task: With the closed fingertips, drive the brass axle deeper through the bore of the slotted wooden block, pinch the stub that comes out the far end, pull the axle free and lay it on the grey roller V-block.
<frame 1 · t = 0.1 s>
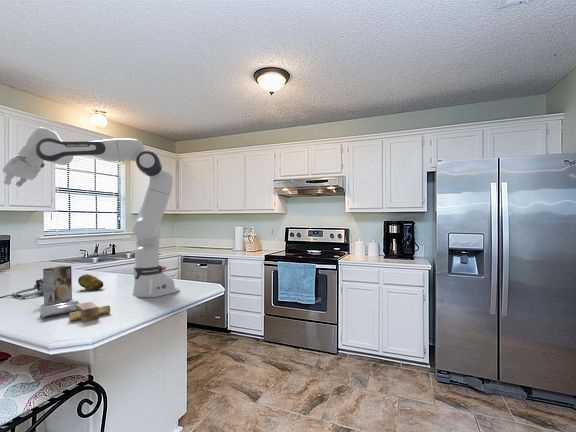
hand: (12, 185, 140), 54 cm above the table, fingers open, 8 cm apart
axle: (90, 316, 118), point 1 cm above the table, touching slotted wooden block
coffee box: (58, 301, 145), on the table
potato: (90, 289, 169), on the table
bike brake: (29, 296, 156), on the table, touching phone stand
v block: (61, 317, 121), on the table
slotted wooden block: (87, 321, 117), on the table
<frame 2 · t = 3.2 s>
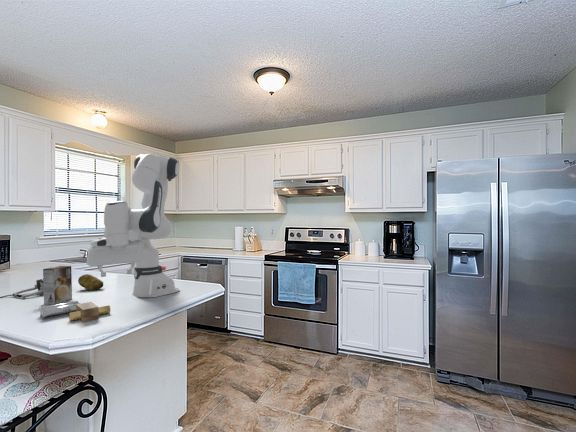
hand: (116, 275, 125), 16 cm above the table, fingers open, 8 cm apart
nothing on the table moved.
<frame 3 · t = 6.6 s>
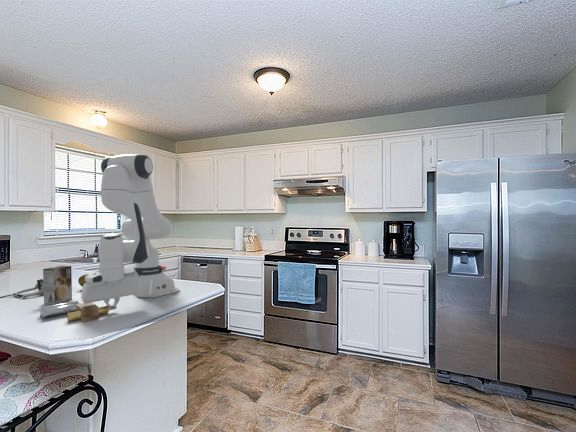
hand: (111, 309, 123), 3 cm above the table, fingers closed
axle: (88, 317, 117), point 2 cm above the table, touching gripper
everything else where it was.
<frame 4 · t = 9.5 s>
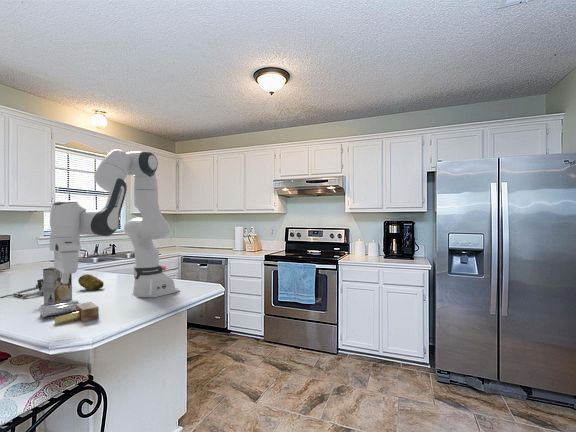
hand: (64, 283, 112), 16 cm above the table, fingers closed
axle: (77, 319, 115), point 1 cm above the table, tilted 6°, touching slotted wooden block
everything else where it was.
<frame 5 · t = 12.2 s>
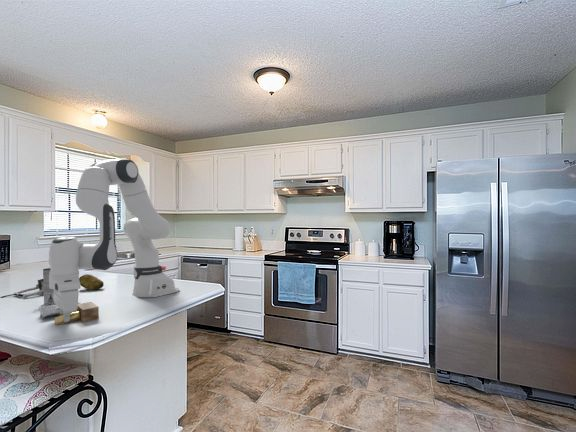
hand: (64, 319, 112), 2 cm above the table, fingers open, 3 cm apart
axle: (77, 319, 115), point 1 cm above the table, tilted 6°, touching slotted wooden block, gripper
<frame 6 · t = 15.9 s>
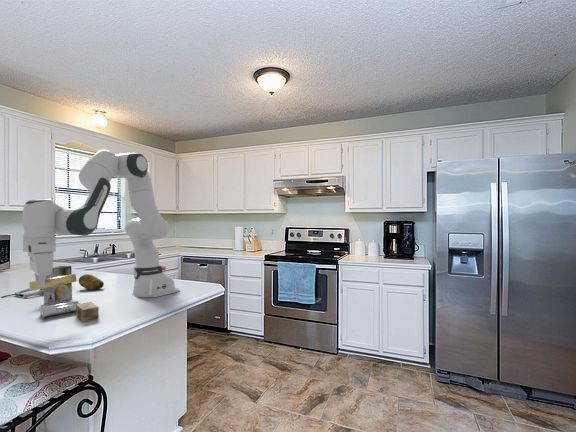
hand: (40, 285, 107), 16 cm above the table, fingers closed on axle, 3 cm apart
axle: (54, 286, 110), point 15 cm above the table, touching gripper
when the fingers open (6 cm above the table, at t = 19.3 s): axle drops 1 cm, resting on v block.
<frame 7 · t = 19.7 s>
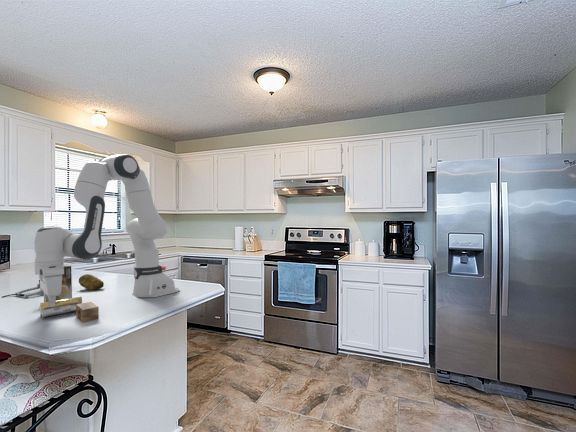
hand: (49, 304, 119), 6 cm above the table, fingers open, 7 cm apart
axle: (61, 307, 122), point 4 cm above the table, touching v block
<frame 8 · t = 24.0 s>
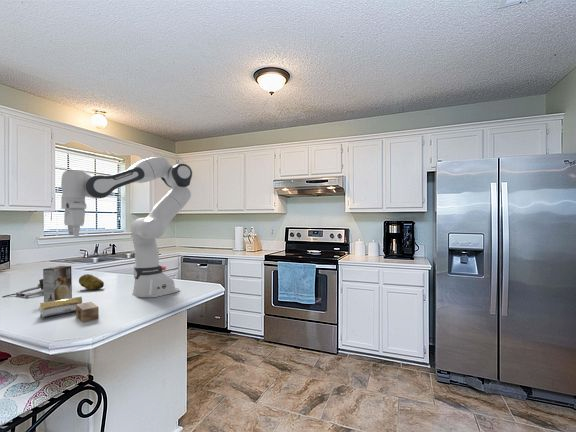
hand: (73, 235, 140), 31 cm above the table, fingers open, 8 cm apart
at the end: axle 0.3 cm off-centre on the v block, point 4.1 cm above the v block's base; axle touching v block; the gripper is holding nothing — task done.
